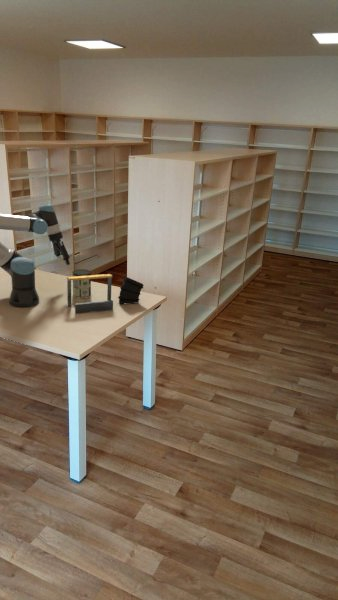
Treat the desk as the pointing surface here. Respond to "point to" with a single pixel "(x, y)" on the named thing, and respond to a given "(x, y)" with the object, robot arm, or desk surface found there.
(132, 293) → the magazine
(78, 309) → the retention bracket
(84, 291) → the coffee can
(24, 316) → the desk surface
